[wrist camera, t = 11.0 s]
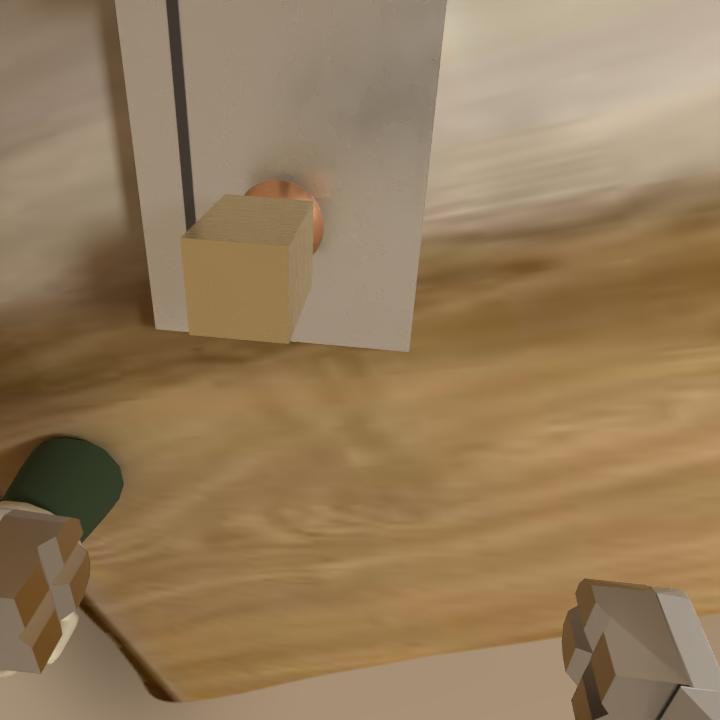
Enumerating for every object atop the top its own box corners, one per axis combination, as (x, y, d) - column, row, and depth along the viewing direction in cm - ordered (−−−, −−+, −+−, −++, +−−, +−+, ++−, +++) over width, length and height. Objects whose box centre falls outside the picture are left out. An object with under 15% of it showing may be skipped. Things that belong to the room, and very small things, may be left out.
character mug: (-13, 426, 41) (-177, 586, 30) (66, 386, 39) (-79, 543, 27) (95, 536, 45) (-13, 713, 34) (171, 506, 43) (83, 684, 32)
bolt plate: (86, -366, 22) (-122, -596, 14) (483, -352, 21) (523, -585, 13) (165, 317, 36) (85, 415, 27) (409, 338, 35) (405, 446, 26)
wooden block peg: (236, 182, 30) (180, 237, 23) (319, 189, 29) (288, 246, 22) (240, 261, 32) (189, 334, 25) (318, 268, 31) (288, 343, 24)
